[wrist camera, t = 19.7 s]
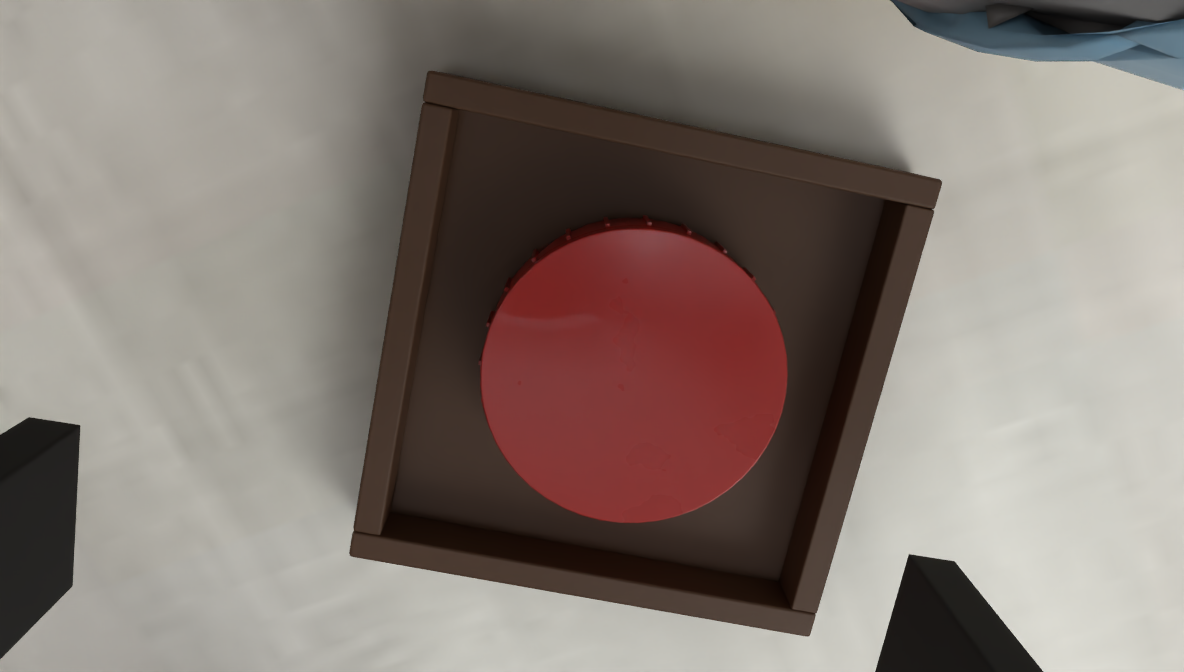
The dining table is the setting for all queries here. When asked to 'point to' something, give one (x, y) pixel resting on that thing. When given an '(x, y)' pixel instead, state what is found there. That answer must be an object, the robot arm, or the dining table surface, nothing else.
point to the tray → (618, 190)
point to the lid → (632, 371)
